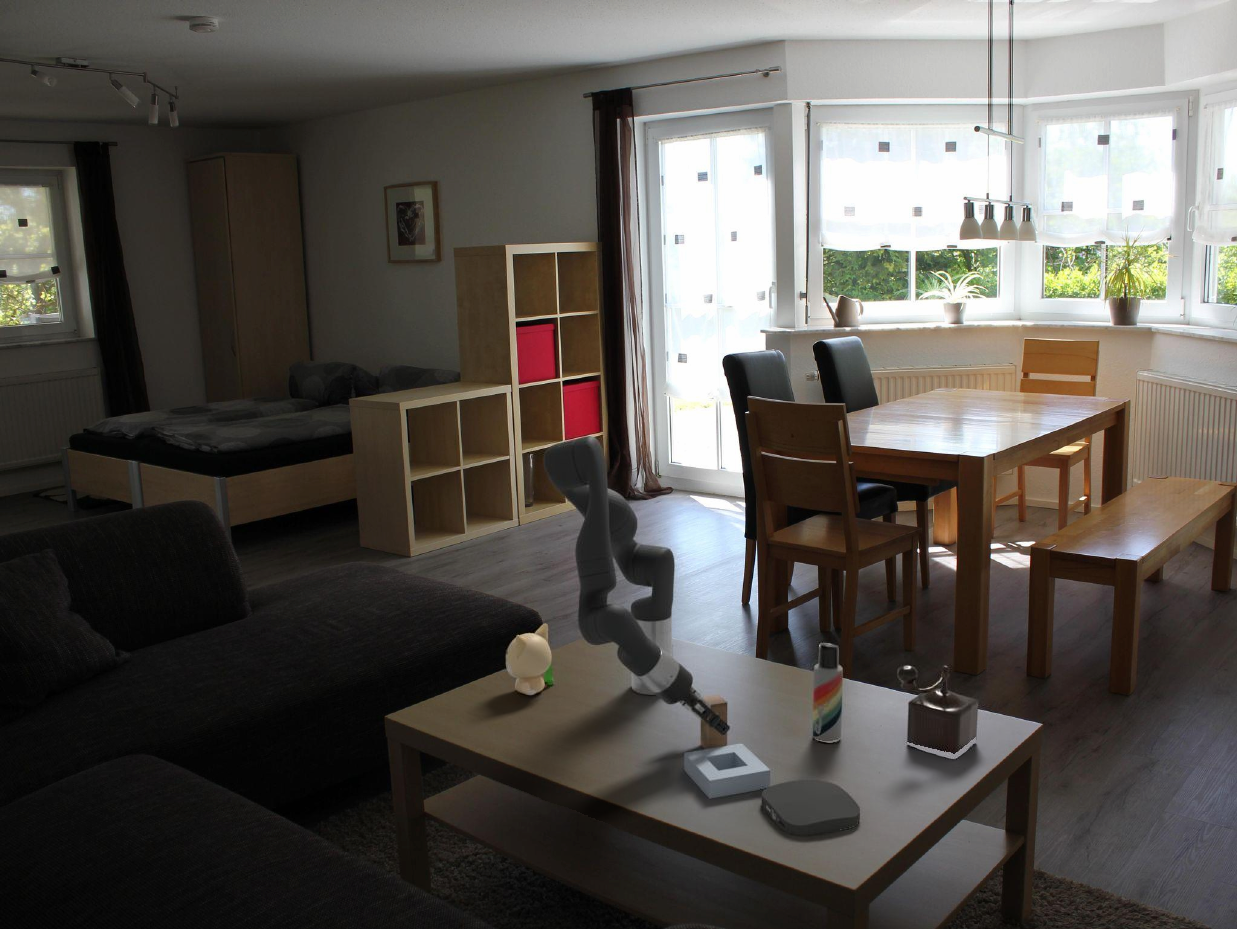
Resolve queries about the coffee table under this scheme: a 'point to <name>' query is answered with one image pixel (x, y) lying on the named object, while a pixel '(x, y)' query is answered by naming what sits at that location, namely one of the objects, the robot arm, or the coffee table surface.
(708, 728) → the peg
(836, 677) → the lotion bottle
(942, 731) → the manual coffee grinder
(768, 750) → the coffee table surface
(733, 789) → the socket
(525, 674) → the kitten
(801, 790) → the media streaming box
